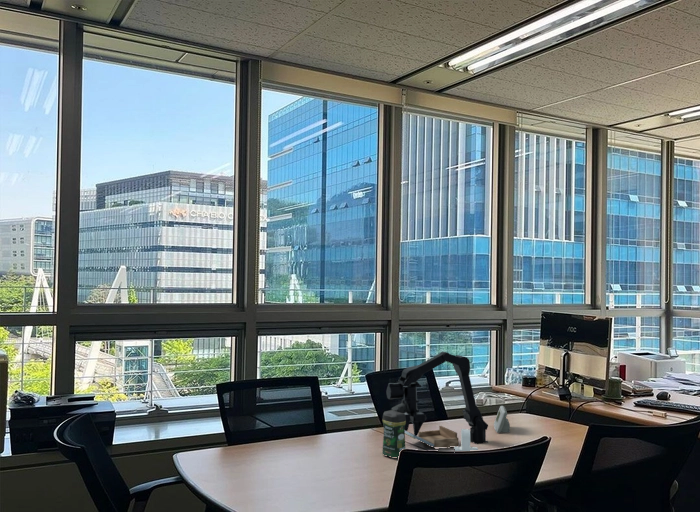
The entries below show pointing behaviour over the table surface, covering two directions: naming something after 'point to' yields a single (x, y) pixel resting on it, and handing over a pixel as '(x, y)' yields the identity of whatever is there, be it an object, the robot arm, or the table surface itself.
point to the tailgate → (418, 438)
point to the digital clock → (501, 421)
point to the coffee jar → (393, 433)
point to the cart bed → (440, 437)
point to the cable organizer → (465, 441)
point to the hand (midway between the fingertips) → (411, 433)
